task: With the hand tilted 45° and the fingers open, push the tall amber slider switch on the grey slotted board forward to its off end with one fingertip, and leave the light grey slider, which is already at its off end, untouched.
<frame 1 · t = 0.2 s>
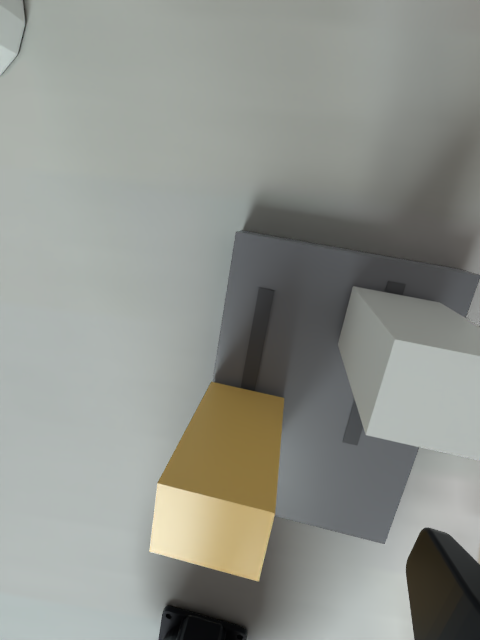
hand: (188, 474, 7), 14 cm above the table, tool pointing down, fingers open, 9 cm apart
amber slider: (229, 459, 16), point 6 cm above the table, slide at 0.0 cm
grey slider: (411, 353, 14), point 6 cm above the table, slide at 5.0 cm
grey slotted board: (315, 385, 22), on the table
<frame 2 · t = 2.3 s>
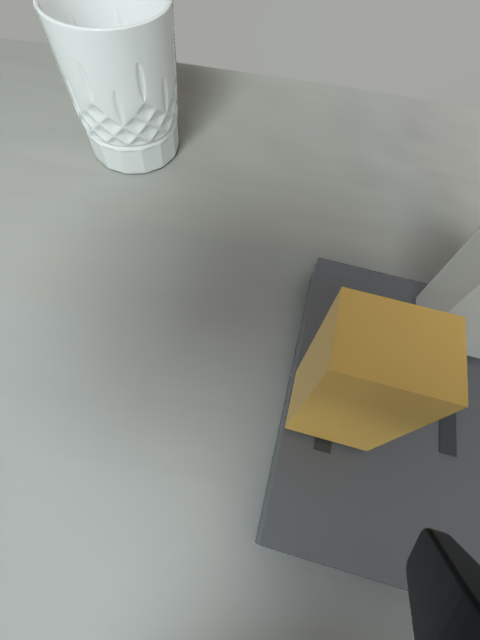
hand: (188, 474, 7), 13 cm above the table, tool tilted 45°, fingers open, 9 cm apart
white cup: (137, 149, 30), on the table
amber slider: (356, 383, 15), point 6 cm above the table, slide at 0.0 cm
grey slotted board: (387, 412, 21), on the table
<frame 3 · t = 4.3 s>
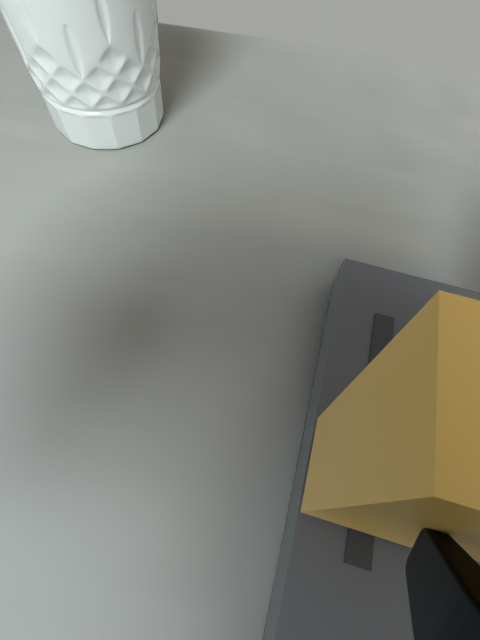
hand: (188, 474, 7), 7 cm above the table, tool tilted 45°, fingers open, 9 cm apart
white cup: (111, 120, 24), on the table
amber slider: (434, 463, 8), point 6 cm above the table, slide at 0.4 cm, touching gripper
grey slotted board: (448, 487, 14), on the table
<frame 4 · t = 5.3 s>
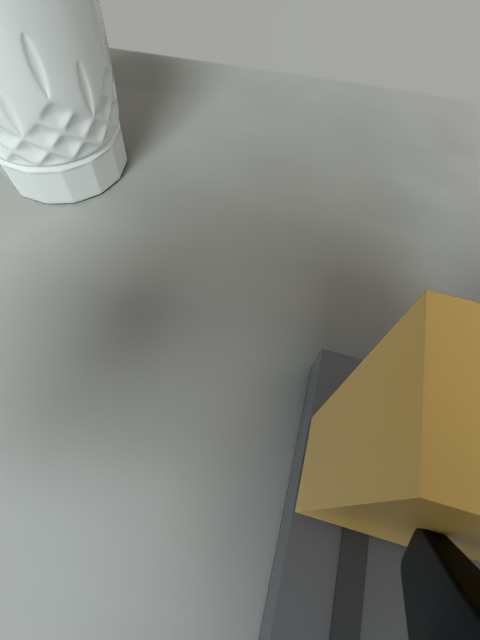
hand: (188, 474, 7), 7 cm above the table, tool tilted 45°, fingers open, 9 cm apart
white cup: (70, 167, 22), on the table
amber slider: (426, 462, 8), point 6 cm above the table, slide at 5.1 cm, touching gripper
grey slotted board: (442, 639, 12), on the table
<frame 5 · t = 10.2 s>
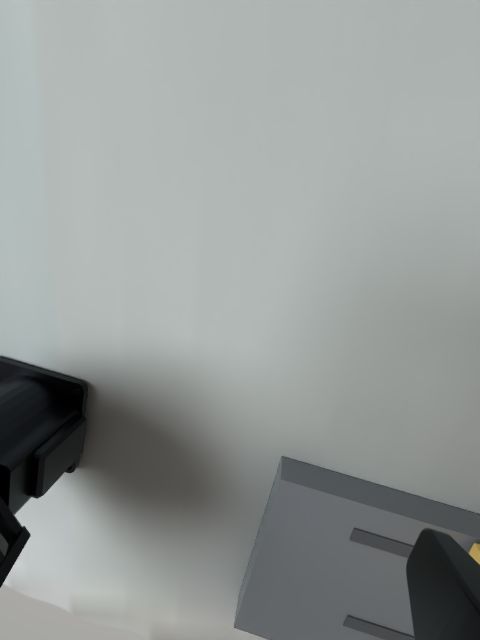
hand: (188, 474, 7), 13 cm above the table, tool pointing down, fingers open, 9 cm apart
grey slotted board: (384, 570, 23), on the table
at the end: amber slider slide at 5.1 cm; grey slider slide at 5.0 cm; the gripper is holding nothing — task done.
